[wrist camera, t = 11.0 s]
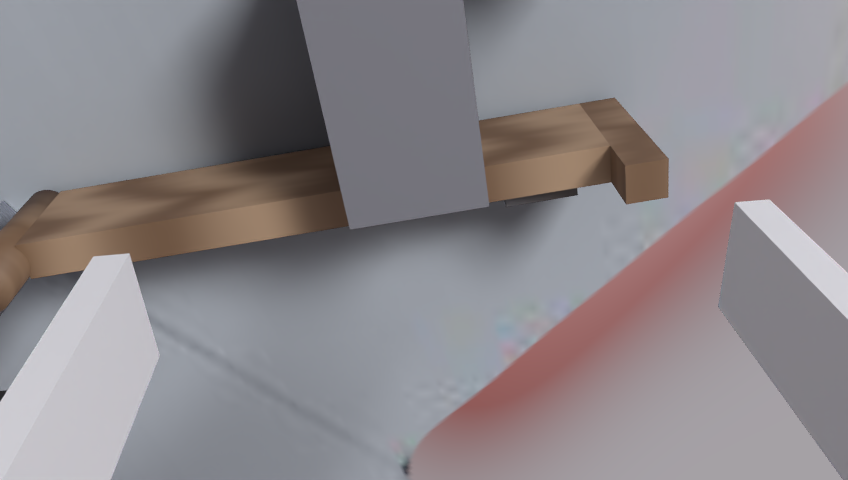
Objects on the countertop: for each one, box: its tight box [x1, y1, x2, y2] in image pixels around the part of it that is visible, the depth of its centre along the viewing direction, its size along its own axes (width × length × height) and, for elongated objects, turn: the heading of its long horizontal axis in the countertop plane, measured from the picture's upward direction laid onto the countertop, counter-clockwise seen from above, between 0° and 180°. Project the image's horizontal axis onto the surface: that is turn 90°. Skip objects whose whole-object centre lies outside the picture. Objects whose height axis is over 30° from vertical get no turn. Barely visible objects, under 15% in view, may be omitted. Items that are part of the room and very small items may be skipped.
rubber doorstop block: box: [296, 0, 489, 230], centre depth 28 cm, size 5×10×9 cm, turn 9°
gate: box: [0, 98, 669, 312], centre depth 31 cm, size 27×3×7 cm, turn 99°
